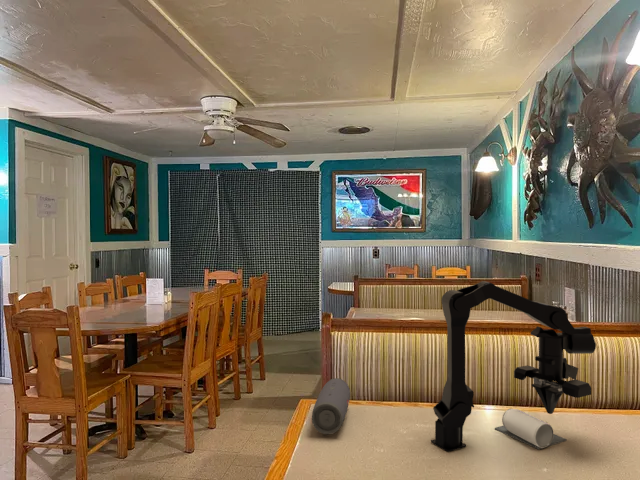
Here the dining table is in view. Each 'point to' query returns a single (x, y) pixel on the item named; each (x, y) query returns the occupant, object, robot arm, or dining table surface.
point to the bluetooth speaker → (331, 406)
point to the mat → (504, 430)
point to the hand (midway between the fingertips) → (550, 413)
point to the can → (528, 427)
